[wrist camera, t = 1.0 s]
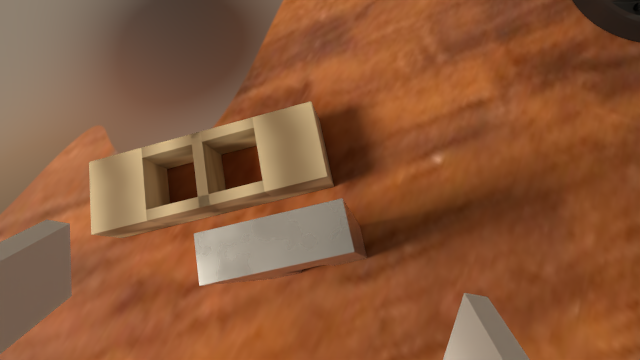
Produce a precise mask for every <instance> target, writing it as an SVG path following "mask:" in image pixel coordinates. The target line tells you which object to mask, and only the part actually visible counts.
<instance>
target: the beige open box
mask: <svg viewBox="0 0 640 360" xmlns="http://www.w3.org/2000/svg"><path fill="white" fill-rule="evenodd" d="M256 145H257V149H258V155H259V161H260V167H261V173H262V179H263V181H259V182H255V183H251V184H247V185H243V186H239V187H235V188H231V189H227V190H226V186H225V179H224V172H223V164H222V157H221V155H222V154H226V153H230V152H234V151H237V150H241V149H245V148H249V147H253V146H256ZM192 162H194V168H195V177H196V185H197V194H198V197H195V198H191V199H187V200H183V201H179V202H175V203H171V204H170V195H169V184H168V174H167V169H169V168H173V167H177V166H180V165H184V164H188V163H192ZM89 174H90V205H91V234H92V235H101V236H109V237H118V238H124V237H128V236H133V235H137V234H141V233H145V232H149V231H153V230H157V229H161V228H166V227H170V226H174V225H178V224H182V223H186V222H190V221H194V220H199V219H203V218H207V217H211V216H215V215H219V214H223V213H227V212H232V211H236V210H240V209H244V208H248V207H252V206H256V205H260V204H265V203H269V202H273V201H277V200H281V199H285V198H289V197H293V196H298V195H302V194H306V193H310V192H314V191H318V190H322V189H326V188H331V187H334V184H333V179H332V175H331V170H330V166H329V161H328V157H327V152H326V147H325V143H324V138H323V134H322V129H321V125H320V120H319V117H318V115H317V113H316V111H315V109H314V107H313V104H312V102H307V103H303V104H300V105H296V106H292V107H289V108H285V109H281V110H278V111H274V112H270V113H267V114H263V115H259V116H256V117H252V118H249V119H245V120H241V121H238V122H234V123H230V124H227V125H223V126H219V127H216V128H212V129H209V130H205V131H201V132H197V133H194V134H190V135H186V136H183V137H180V138H176V139H172V140H168V141H165V142H161V143H158V144H154V145H150V146H146V147H143V148H139V149H135V150H132V151H128V152H124V153H121V154H117V155H113V156H110V157H106V158H103V159H99V160H95V161H92V162H89Z"/></svg>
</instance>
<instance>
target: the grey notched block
mask: <svg viewBox="0 0 640 360" xmlns="http://www.w3.org/2000/svg"><path fill="white" fill-rule="evenodd" d="M194 240H195V249H196V259H197V268H198V277H199V286H202V285H213V284H224V283H235V282H246V281H256V280H267V279H274V278H278V277H283V276H287V275H292V274H297V273H301V272H302V270H301V269H306V268H310V267H315V266H319V265H339V264H343V263H348V262H352V261H357V260H362V259H366V258H367V255H366V250H365V246H364V242H363V237H362V233H361V229H360V225H359V223H358V222H357V220H356V219H355V217H354V215H353V214H352V212H351V211H350V209H349V208H348V206H347V205H346V203H345V202H344V200H343V198H342V199H338V200H333V201H329V202H325V203H321V204H317V205H312V206H308V207H304V208H300V209H296V210H291V211H287V212H283V213H279V214H275V215H270V216H266V217H262V218H258V219H254V220H249V221H245V222H241V223H237V224H233V225H228V226H224V227H220V228H216V229H212V230H207V231H203V232H199V233H195V234H194Z"/></svg>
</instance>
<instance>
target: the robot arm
mask: <svg viewBox="0 0 640 360" xmlns="http://www.w3.org/2000/svg"><path fill="white" fill-rule="evenodd" d="M573 2H574V3H575V5H576V6H577V8H578V9H579V10H580V11H581V12H582V13H583V14H584V15H585V16H586V17H587V18H588V19H589V20H590V21H592V22H593V23H594V24H596V25H597V26H599V27H600V28H602V29H604V30H606V31H608V32H609V33H612V34H614V35H616V36H619V37H622V38H625V39H628V40H632V41H636V42H640V0H573ZM71 296H72V292H71V256H70V224H69V223H63V222H57V221H51V220H45V221H43V222H41V223H39V224H37V225H35V226H33V227H31V228H28V229H26V230H24V231H22V232H20V233H18V234H16V235H14V236H12V237H10V238H8V239H6V240H4V241H2V242H0V354H1V353H2V352H3V351H5V350H6V349H7V348H8V347H10V346H11V345H12V344H13V343H14V342H16V341H17V340H18V339H19V338H21V337H22V336H23V335H24V334H25V333H27V332H28V331H29V330H30V329H32V328H33V327H34V326H35V325H37V324H38V323H39V322H40V321H41V320H43V319H44V318H45V317H46V316H48V315H49V314H50V313H51V312H52V311H54V310H55V309H56V308H57V307H59V306H60V305H61V304H62V303H63V302H65V301H66V300H67V299H68V298H70V297H71ZM443 360H530V359H529V358H528V356H527V355H526V354H525V352H524V351H523V349H522V348H521V346H520V345H519V343H518V342H517V340H516V339H515V337H514V336H513V334H512V333H511V331H510V330H509V328H508V327H507V325H506V324H505V322H504V321H503V319H502V318H501V316H500V315H499V313H498V312H497V310H496V309H495V307H494V306H493V304H492V303H491V301H490V300H489V298H488V297H485V296H479V295H473V294H468V293H464V296H463V299H462V302H461V305H460V308H459V311H458V314H457V318H456V321H455V324H454V327H453V330H452V333H451V337H450V340H449V343H448V346H447V349H446V352H445V356H444V359H443Z"/></svg>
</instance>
